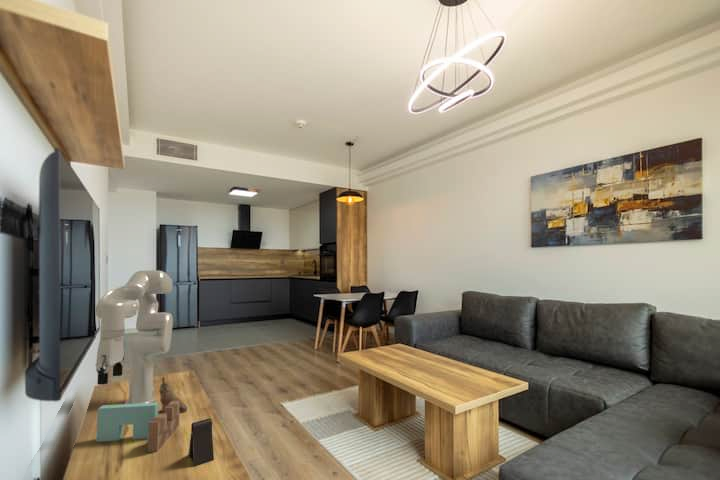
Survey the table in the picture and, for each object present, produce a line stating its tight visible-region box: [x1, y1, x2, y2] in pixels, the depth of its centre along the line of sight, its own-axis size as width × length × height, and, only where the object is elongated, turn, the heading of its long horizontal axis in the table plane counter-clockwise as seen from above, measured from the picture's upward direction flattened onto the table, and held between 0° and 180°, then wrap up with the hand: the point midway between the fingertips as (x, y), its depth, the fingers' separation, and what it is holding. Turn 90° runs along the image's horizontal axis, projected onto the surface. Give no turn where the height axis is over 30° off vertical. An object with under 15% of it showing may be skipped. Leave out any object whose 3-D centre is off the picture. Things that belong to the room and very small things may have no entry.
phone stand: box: [187, 418, 215, 467], centre depth 118 cm, size 9×6×12 cm, turn 38°
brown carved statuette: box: [158, 376, 188, 414], centre depth 152 cm, size 12×6×18 cm, turn 122°
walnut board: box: [147, 399, 181, 453], centre depth 131 cm, size 20×3×10 cm, turn 8°
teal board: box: [96, 401, 160, 443], centre depth 131 cm, size 3×20×12 cm, turn 98°
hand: (110, 379), depth 131 cm, fingers open, 9 cm apart
